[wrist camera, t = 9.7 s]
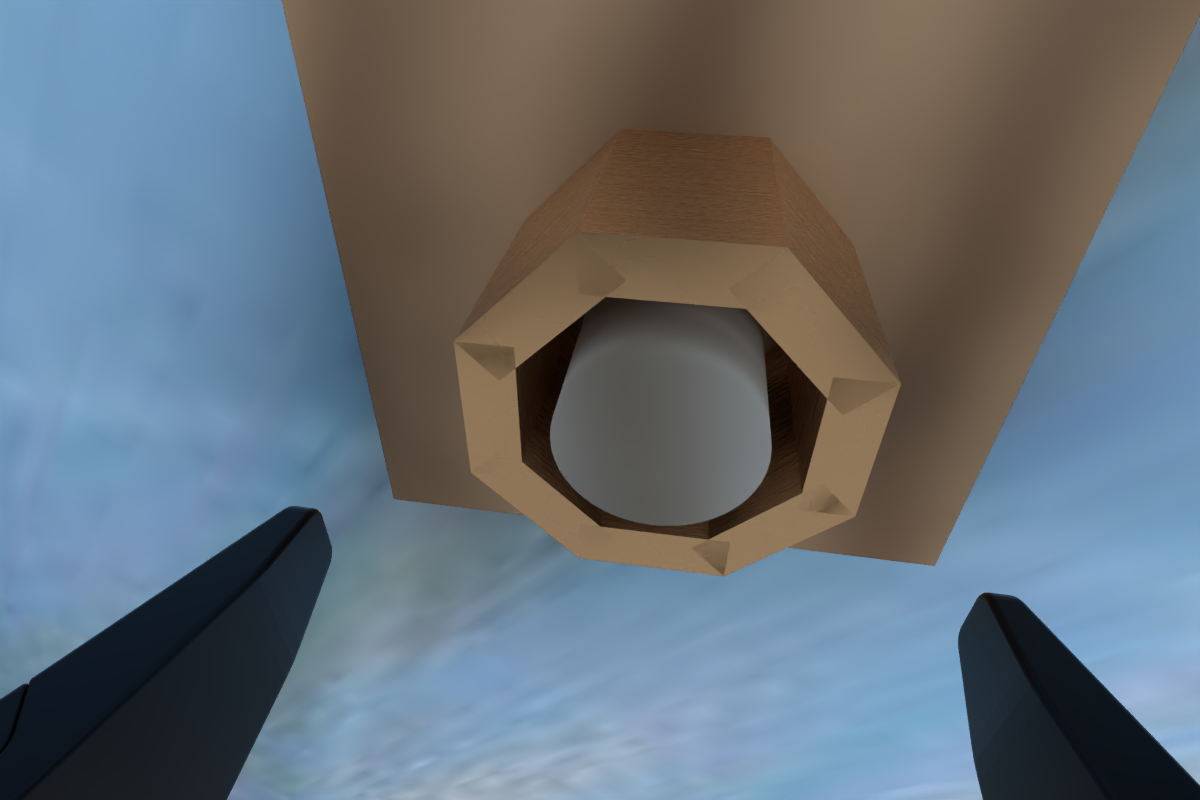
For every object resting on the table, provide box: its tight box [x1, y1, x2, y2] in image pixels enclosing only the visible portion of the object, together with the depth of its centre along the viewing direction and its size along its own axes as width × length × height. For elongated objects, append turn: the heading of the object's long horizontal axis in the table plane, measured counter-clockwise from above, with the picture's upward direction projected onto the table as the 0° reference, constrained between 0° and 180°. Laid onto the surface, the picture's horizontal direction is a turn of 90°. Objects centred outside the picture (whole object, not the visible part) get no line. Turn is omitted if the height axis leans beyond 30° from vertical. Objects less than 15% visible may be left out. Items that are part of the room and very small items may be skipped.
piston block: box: [282, 0, 1200, 566], centre depth 14 cm, size 16×16×8 cm
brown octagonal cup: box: [454, 129, 901, 576], centre depth 14 cm, size 7×7×5 cm
